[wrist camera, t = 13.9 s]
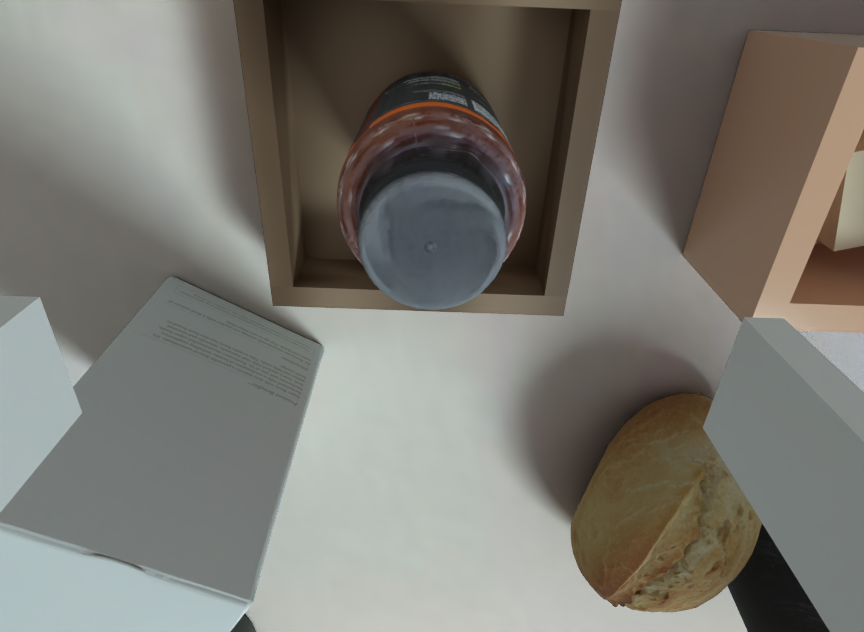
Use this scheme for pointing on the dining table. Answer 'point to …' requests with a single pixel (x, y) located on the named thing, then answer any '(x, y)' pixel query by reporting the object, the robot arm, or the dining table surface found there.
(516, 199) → the supplement bottle
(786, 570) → the travel mug
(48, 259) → the dining table surface
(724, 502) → the bread roll
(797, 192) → the light wooden box
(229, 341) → the supplement box
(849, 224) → the maple cube
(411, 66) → the walnut bin
